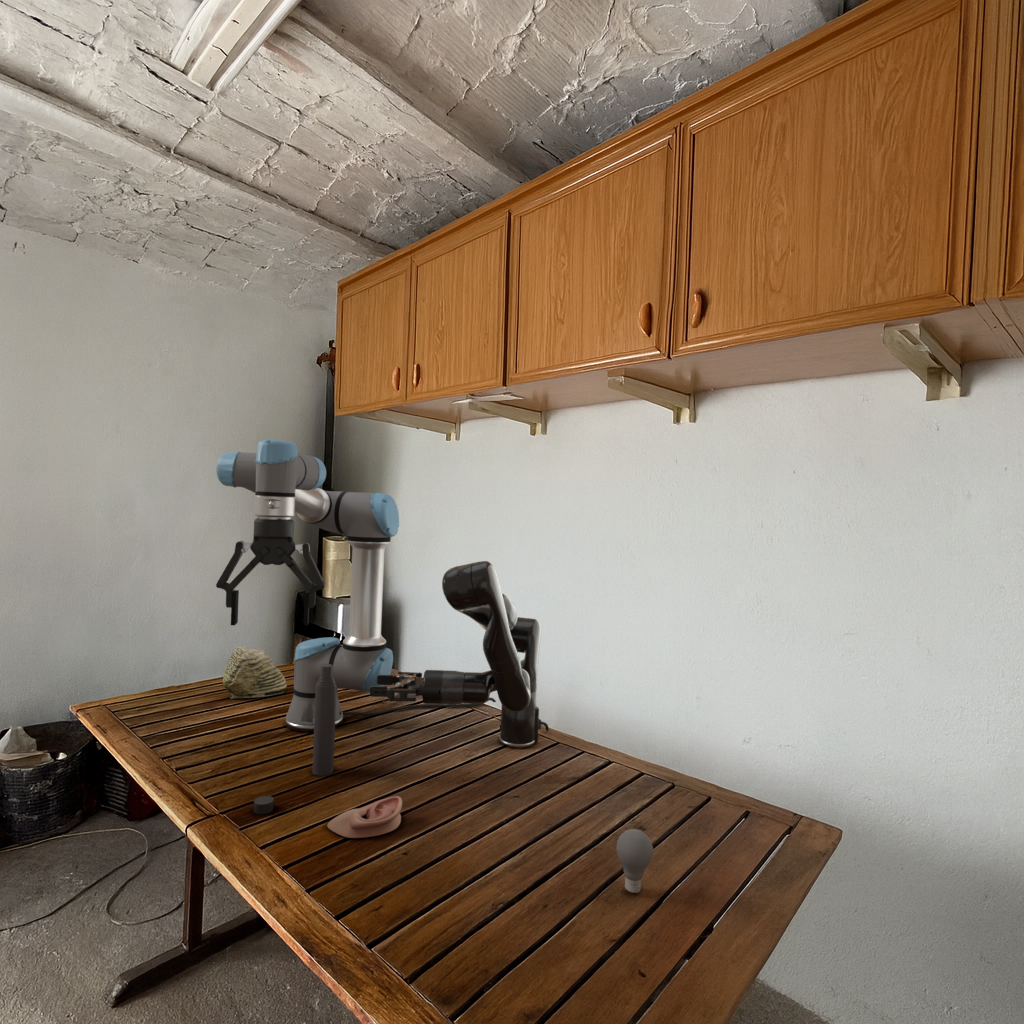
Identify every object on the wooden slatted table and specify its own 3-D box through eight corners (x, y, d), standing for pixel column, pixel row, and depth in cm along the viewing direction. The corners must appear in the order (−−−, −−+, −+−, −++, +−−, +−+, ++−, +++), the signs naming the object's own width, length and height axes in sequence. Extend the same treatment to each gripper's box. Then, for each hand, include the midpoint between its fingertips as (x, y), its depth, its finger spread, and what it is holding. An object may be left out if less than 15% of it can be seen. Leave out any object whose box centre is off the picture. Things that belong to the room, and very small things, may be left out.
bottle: (336, 768, 148) (340, 663, 148) (329, 776, 143) (333, 668, 143) (316, 766, 148) (320, 662, 148) (309, 775, 144) (313, 667, 143)
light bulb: (610, 879, 108) (613, 822, 108) (644, 879, 109) (647, 822, 109) (619, 902, 102) (622, 840, 102) (655, 901, 103) (658, 840, 103)
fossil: (218, 695, 195) (220, 647, 195) (278, 685, 208) (279, 640, 207) (228, 703, 189) (230, 653, 188) (289, 692, 201) (290, 645, 201)
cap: (262, 804, 130) (263, 794, 130) (277, 807, 128) (277, 798, 128) (249, 812, 126) (249, 802, 126) (264, 816, 125) (264, 806, 125)
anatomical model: (320, 812, 119) (347, 786, 130) (319, 833, 119) (347, 805, 130) (386, 822, 116) (408, 795, 127) (385, 844, 116) (408, 814, 128)
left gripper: (201, 516, 120) (198, 627, 120) (338, 521, 125) (334, 627, 126) (211, 515, 127) (208, 620, 128) (340, 519, 133) (336, 620, 133)
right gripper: (446, 662, 154) (379, 660, 153) (442, 680, 139) (368, 678, 139) (445, 693, 154) (378, 691, 153) (441, 713, 140) (367, 712, 139)
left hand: (270, 624), depth 127 cm, fingers open, 13 cm apart
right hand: (373, 685), depth 146 cm, fingers open, 8 cm apart
